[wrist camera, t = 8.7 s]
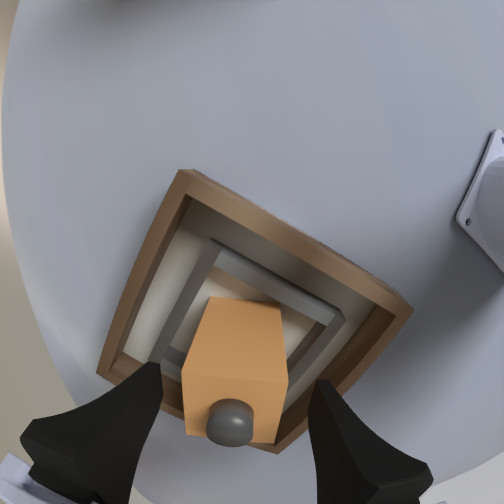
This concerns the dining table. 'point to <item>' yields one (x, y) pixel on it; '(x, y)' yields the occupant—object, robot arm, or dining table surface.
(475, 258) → the dining table surface
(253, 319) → the tan tall block
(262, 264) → the walled box
